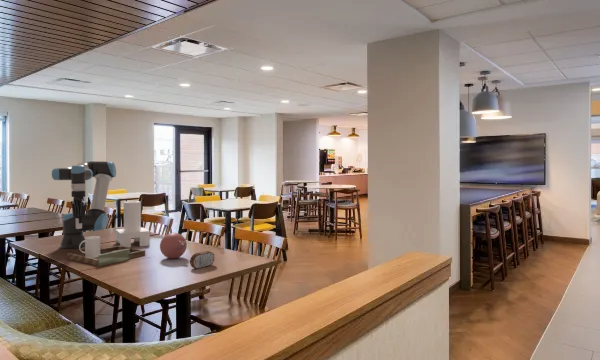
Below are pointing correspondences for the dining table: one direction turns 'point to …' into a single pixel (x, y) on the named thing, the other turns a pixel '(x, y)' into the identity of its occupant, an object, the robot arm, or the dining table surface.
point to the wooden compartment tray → (109, 255)
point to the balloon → (173, 245)
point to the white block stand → (132, 226)
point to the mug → (91, 246)
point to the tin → (202, 259)
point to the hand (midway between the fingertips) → (78, 228)
